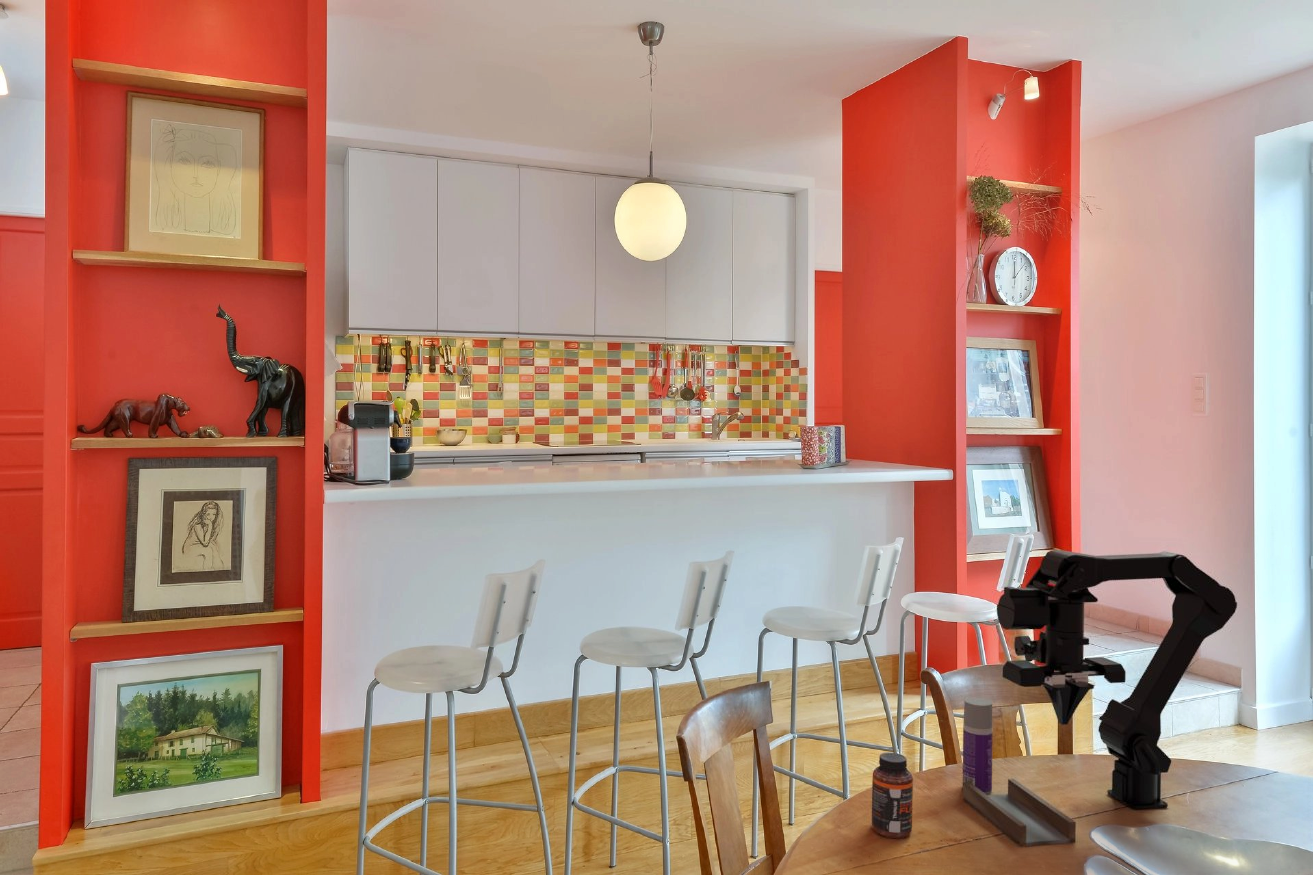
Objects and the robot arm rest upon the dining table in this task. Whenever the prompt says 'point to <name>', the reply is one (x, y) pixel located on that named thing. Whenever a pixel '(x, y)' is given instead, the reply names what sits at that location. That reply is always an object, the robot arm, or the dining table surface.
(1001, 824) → the cradle
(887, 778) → the supplement bottle
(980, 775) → the container
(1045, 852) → the dining table surface
